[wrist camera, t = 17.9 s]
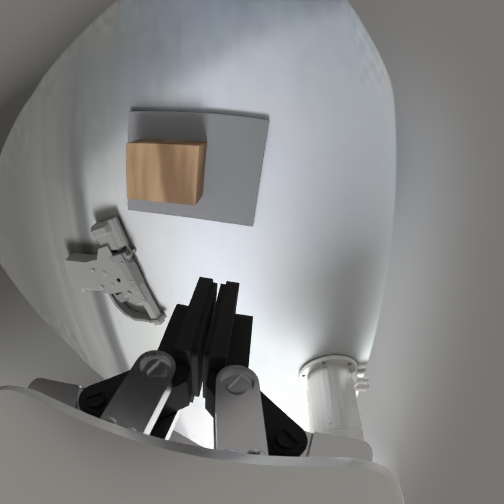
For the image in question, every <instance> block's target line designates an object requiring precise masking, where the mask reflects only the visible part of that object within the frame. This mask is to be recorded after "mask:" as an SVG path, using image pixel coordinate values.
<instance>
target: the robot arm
mask: <svg viewBox="0 0 504 504" xmlns="http://www.w3.org/2000/svg"><path fill="white" fill-rule="evenodd" d="M238 290H239V283H236V282H229V281H227V282H226V284H221V286H220V289H219V293H218V297H217V301H216V296H217V283H213V279H210V278H204V277H200V278H199V280H198V283H197V285H196V288H195V291H194V293H193V296H192V299H191V301H190V304H189V306H186V305H181V304H177V305H176V307H175V309H174V312H173V314H172V316H171V319H170V321H169V324H168V326H167V328H166V331H165V333H164V336H163V338H162V341H161V343H160V346H159V348H158V350H151V351H148V352H145V353H143V354H142V355H141V356H140V357H139V358H138V359H137V360H136V362H135V363H134V365H133V367H132V368H131V370H129V371H127V372H124V373H122V374H119V375H117V376H114V377H112V378H109V379H106V380H104V381H101V382H99V383H96V384H93V385H90V386H88V387H86V388H81V386H80V385H76V384H70V383H64V382H59V381H54V380H49V379H45V378H37V379H34V380H33V381H32V382H31V383H30V384H29V386H28V388H26V387H21V386H12V385H8V386H0V504H404V498H403V493H402V490H401V487H400V483H399V481H398V479H397V477H396V475H395V474H394V473H393V472H392V471H391V470H390V469H388V468H387V467H385V466H382V465H380V464H378V463H374V462H372V455H373V454H372V449H371V447H370V445H369V444H368V443H367V442H365V441H364V436H363V430H362V424H361V419H360V414H359V408H358V403H357V397H356V392H355V391H367V390H368V388H369V384H368V378H367V377H362V378H359V377H357V374H358V366H357V363H356V362H355V361H354V360H353V359H352V358H350V357H347V356H342V355H330V356H324V357H321V358H318V359H315V360H313V361H311V362H309V363H308V364H306V365H305V366H304V367H303V368H302V369H301V371H300V373H299V383H300V385H301V386H302V387H303V388H305V389H307V394H308V409H309V425H310V432H306V431H304V430H303V429H302V428H301V427H300V426H299V425H298V424H296V423H295V422H294V421H293V420H292V419H291V418H290V417H288V416H287V415H286V414H285V413H284V412H283V411H282V410H281V409H279V408H278V407H277V406H276V405H275V404H274V403H273V402H272V401H271V400H270V399H269V398H268V397H266V396H265V395H264V394H263V393H262V392H261V391H260V386H259V380H258V377H257V376H256V374H255V373H254V372H253V371H252V370H250V369H249V368H248V366H249V355H250V344H251V333H252V322H253V316H247V315H240V314H235V313H236V305H237V298H238ZM202 382H203V398H205V408H206V410H207V411H208V412H209V413H210V414H211V416H212V417H213V432H214V449H208V448H203V447H197V446H192V445H187V444H183V443H177V442H174V441H169V438H170V435H171V433H172V431H173V429H174V427H175V424H176V422H177V420H178V418H179V416H180V413H181V409H182V408H184V407H186V406H188V405H189V403H190V402H192V403H193V400H194V396H197V397H199V395H200V391H201V386H202Z"/></svg>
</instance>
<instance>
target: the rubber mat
mask: <svg viewBox="0 0 504 504" xmlns="http://www.w3.org/2000/svg"><path fill="white" fill-rule="evenodd" d="M268 124H269V120H266V119H259V118H251V117H243V116H234V115H224V114H212V113H198V112H176V111H131V112H129V125H128V143H129V142H132V141H135V140H139V139H166V140H187V141H202V142H207V150H206V162H205V175H204V190H203V196H202V197H201V199H200V200H199V201H198V203H197V204H196V205H186V204H177V203H167V202H157V201H147V200H136V199H128V210H134V211H142V212H150V213H159V214H166V215H174V216H182V217H190V218H197V219H204V220H212V221H219V222H226V223H233V224H240V225H246V226H253V222H254V216H255V209H256V203H257V196H258V189H259V183H260V176H261V170H262V163H263V157H264V150H265V143H266V137H267V130H268Z"/></svg>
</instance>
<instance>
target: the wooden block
mask: <svg viewBox="0 0 504 504" xmlns="http://www.w3.org/2000/svg"><path fill="white" fill-rule="evenodd" d="M206 150H207V142H202V141H187V140H166V139H139V140H135V141H132V142H129V143H126V180H127V199H136V200H147V201H157V202H167V203H177V204H186V205H196V204H197V203H198V201H199V200H200V199H201V197H202V196H203V190H204V175H205V162H206Z"/></svg>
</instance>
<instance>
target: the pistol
mask: <svg viewBox="0 0 504 504" xmlns="http://www.w3.org/2000/svg"><path fill="white" fill-rule="evenodd" d="M91 233H92V235H93V237H94V238H97V240H98V242H99V244H100V246H101V247H100V248H99V249H98V254H94V255H92V254H82V253H72V254H71V255H70V256H69V257H68V258H67V259H66V260H65V261H64V264H65V267H66V270H67V273H68V276H69V278H70V281H71V283H72V286H73V288H74V289H75V290H78V291H82V292H85V291H86V290H97V291H102V292H104V293H108V294H109V296H110V298H111V299H112V301H113V303H114V304H115V306H116V307H117V308H118V309H119V310H120V311H121V312H122V313H123V314H124V315H126V316H128V317H130V318H131V319H133V320H136V321H145V322H150V323H154V324H155V325H161V324H162V323H163V322H164V321H165V320H164V318H165V317H167V316H166V314H164V313H163V312H162V311H161V312H160V310H159V308H158V306H157V305H156V303H155V301H154V299H153V297H152V296H151V293H150V291H149V289H148V287H147V285H146V283H145V282H144V277H143V275H142V274H141V272H140V270H139V268H138V266H137V264H136V262H135V260H134V258H133V253H134V252H136V248H133V249H132V247H131V246H130V247H129V245H128V243H129V241H128V239H127V237H126V235H125V233H124V231H123V228H122V226H121V224H120V222H119V219H118V217H117V216H114V217H112V218H108V219H106V220H103V221H100V222H98V223H96V224H94V225H93V226H92V227H91ZM124 246H126V247H124ZM123 247H124V248H123ZM115 249H116V250H115ZM111 250H114V251H111ZM129 299H130V300H131V302H132V303H133V304H137V303H142V304H143V305H144V307H145V309H146V310H147V312H148V313H141V312H137V311H135V310H133V309H131V308H129V307H128V306H127V305H126V304H125V303H124V301H127V300H129Z"/></svg>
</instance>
